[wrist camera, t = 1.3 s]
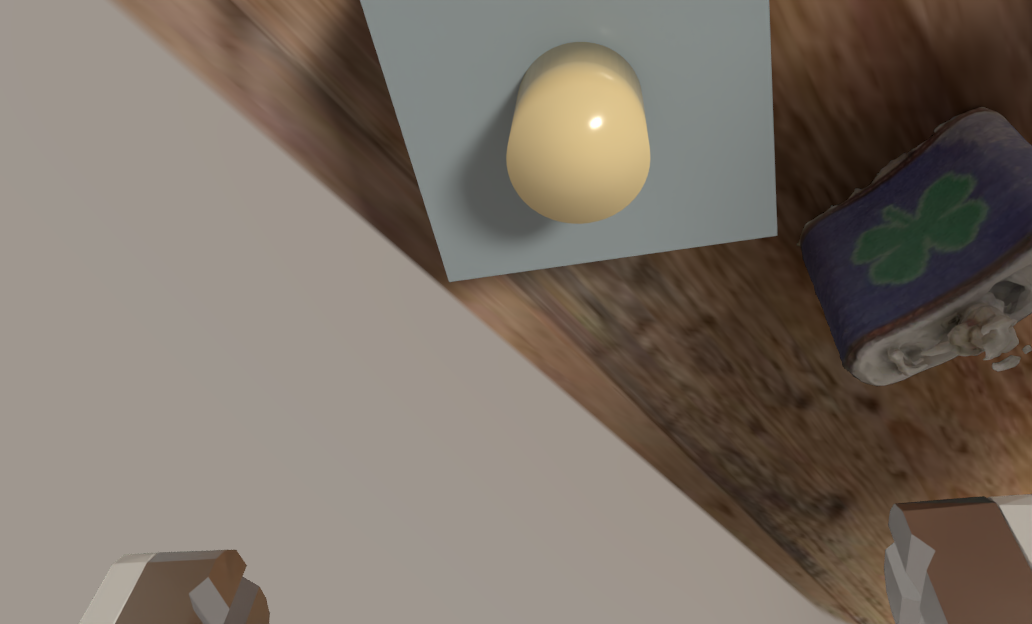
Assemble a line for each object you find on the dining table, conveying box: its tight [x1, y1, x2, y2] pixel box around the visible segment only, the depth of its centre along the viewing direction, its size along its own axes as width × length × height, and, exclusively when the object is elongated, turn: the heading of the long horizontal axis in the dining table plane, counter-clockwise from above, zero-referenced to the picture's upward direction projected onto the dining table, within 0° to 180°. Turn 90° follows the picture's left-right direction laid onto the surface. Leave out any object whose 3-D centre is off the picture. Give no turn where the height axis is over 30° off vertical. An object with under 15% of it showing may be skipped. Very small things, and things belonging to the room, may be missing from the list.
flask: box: [796, 107, 1032, 386], centre depth 30 cm, size 9×3×11 cm, turn 137°
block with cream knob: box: [360, 0, 777, 282], centre depth 22 cm, size 10×10×6 cm
